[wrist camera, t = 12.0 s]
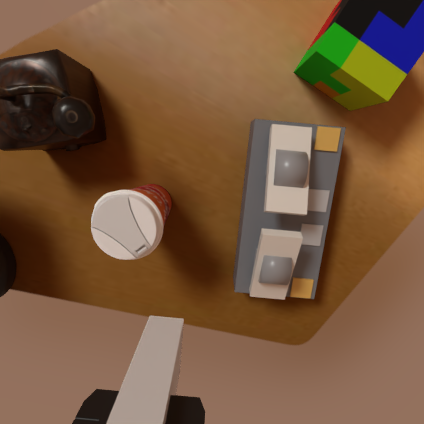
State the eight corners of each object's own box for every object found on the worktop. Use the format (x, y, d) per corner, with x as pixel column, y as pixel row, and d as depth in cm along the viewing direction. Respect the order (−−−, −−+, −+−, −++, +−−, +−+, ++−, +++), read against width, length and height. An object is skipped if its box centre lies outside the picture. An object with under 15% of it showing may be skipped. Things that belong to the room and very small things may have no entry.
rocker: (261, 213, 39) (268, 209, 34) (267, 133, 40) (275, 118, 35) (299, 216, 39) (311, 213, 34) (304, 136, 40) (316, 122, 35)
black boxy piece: (43, 155, 46) (-66, 162, 28) (22, 79, 43) (-111, 35, 26) (141, 139, 45) (92, 136, 27) (125, 61, 42) (60, 2, 25)
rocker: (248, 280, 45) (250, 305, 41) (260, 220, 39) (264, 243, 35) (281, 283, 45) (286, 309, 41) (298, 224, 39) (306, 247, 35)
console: (233, 277, 49) (235, 293, 44) (250, 121, 44) (255, 118, 38) (304, 283, 49) (315, 301, 44) (331, 129, 44) (347, 127, 38)
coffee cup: (189, 207, 47) (176, 236, 32) (149, 237, 48) (119, 277, 34) (155, 165, 46) (126, 174, 31) (116, 196, 47) (69, 220, 32)
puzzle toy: (394, 47, 41) (448, 17, 32) (349, 110, 43) (387, 101, 34) (336, 4, 40) (374, -40, 31) (293, 72, 42) (316, 50, 33)
